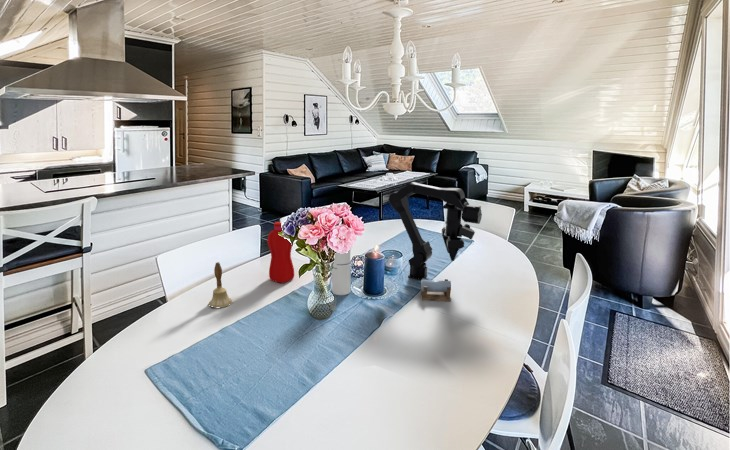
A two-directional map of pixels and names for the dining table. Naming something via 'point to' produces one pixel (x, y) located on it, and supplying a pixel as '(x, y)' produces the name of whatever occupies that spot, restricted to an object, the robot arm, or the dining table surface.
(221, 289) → the hand bell
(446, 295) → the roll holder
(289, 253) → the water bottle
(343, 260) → the cylindrical container
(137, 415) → the dining table surface
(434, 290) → the cylinder
